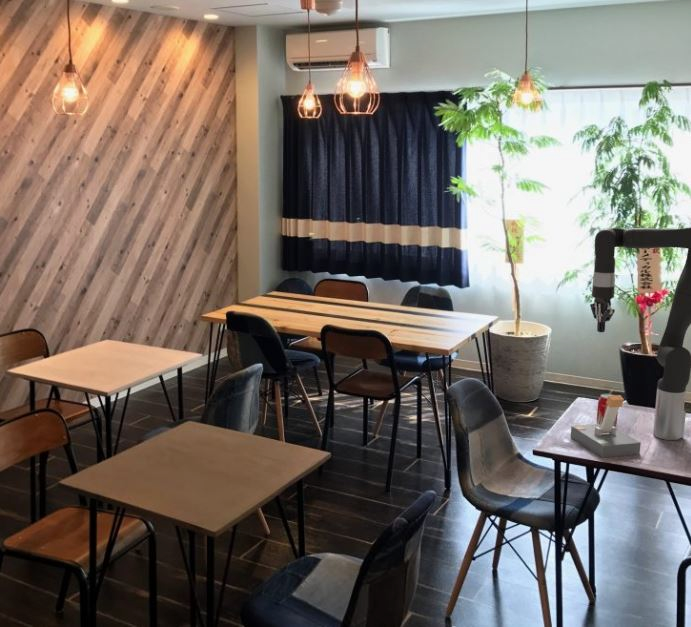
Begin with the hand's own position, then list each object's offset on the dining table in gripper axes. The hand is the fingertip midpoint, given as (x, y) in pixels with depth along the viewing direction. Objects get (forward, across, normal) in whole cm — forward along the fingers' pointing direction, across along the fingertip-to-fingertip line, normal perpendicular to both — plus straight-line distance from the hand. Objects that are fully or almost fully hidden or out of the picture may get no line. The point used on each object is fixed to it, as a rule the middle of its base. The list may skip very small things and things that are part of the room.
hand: (600, 331), depth 291 cm
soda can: (+35, -5, -1) cm, 35 cm away
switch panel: (+35, -21, +9) cm, 42 cm away
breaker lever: (+29, -21, +9) cm, 37 cm away
